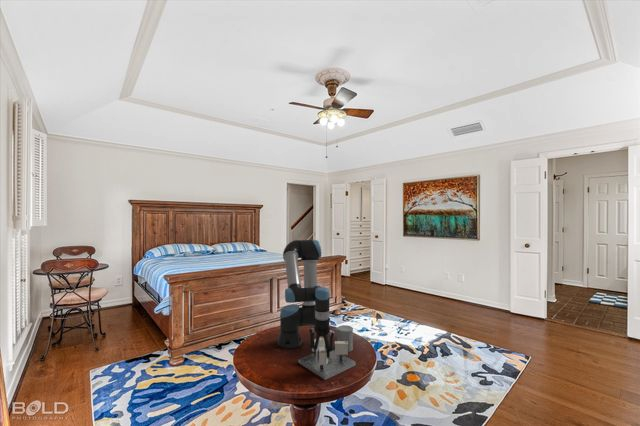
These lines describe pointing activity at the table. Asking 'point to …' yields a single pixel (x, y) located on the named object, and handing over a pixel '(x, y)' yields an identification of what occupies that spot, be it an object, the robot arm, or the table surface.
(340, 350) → the knob
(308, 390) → the table surface
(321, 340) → the knob back
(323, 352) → the knob
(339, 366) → the grey flat square plate
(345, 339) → the gray cylinder
